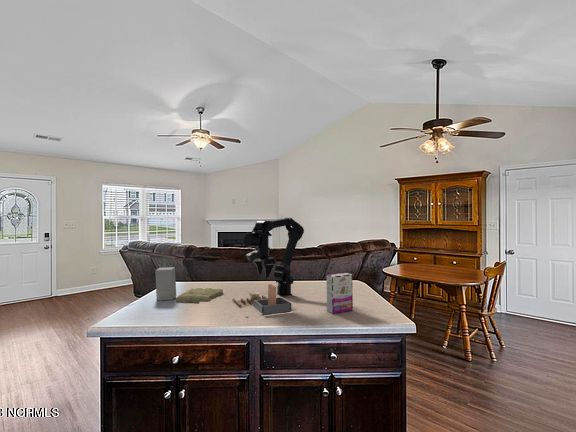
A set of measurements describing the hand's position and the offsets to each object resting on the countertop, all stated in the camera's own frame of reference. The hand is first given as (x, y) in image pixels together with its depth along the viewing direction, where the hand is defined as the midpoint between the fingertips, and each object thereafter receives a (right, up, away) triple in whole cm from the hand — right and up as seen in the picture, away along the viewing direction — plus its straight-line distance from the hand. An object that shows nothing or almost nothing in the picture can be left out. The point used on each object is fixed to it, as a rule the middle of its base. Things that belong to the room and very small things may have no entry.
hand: (263, 276), depth 164 cm
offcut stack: (-3, -12, -8) cm, 14 cm away
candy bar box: (+36, -12, -19) cm, 42 cm away
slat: (+5, -11, -18) cm, 22 cm away
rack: (-5, -12, -8) cm, 15 cm away
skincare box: (-50, -12, +1) cm, 51 cm away
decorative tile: (-33, -13, +4) cm, 35 cm away
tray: (+5, -12, -18) cm, 22 cm away
